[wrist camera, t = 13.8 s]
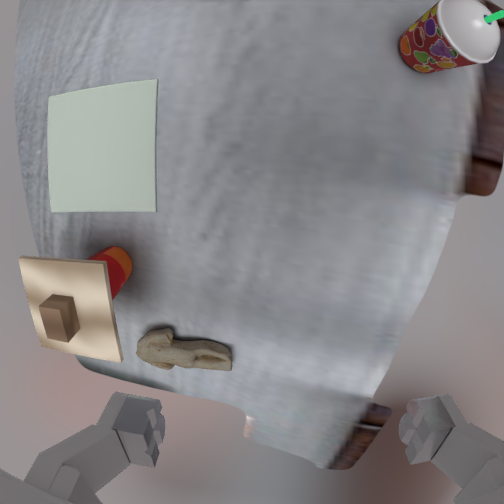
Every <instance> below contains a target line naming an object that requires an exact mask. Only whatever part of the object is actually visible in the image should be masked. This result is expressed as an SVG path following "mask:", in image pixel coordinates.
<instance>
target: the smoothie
mask: <svg viewBox="0 0 504 504" xmlns="http://www.w3.org/2000/svg"><path fill="white" fill-rule="evenodd" d="M502 17H504V11H503V10H501V11H499V12H496V13H494V14H492V13H491V12H490V11H489V10H488V9H487V8H486V7H485V6H484V5H482V4H481V3H480V2H478V1H476V0H440V1H439V2H438V3H436V4H435V5H434V6H433V7H432V8H431V9H430V10H428V11H427V12H426V13H425V14H424V15H423V16H422V17H421V18H419V19H418V20H417V21H416V22H415V23H414V24H413V25H412V26H411V27H409V28H408V29H407V30H406V31H405V32H404V33H403V34H402V36H401V37H400V43H399V45H400V53H401V55H402V58H403V59H404V61H405V62H406V63H407V64H408V65H409V66H410V67H411V68H413V69H415V70H417V71H419V72H422V73H432V72H436V71H441V70H446V69H451V68H456V67H461V66H467V65H472V64H479V63H488V62H489V61H491V60H492V59H493V58H494V56H495V54H496V52H497V49H498V47H499V44H500V30H499V26H498V23H497V21H496V20H497V19H500V18H502Z"/></svg>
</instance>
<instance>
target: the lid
mask: <svg viewBox="0 0 504 504" xmlns="http://www.w3.org/2000/svg"><path fill="white" fill-rule="evenodd" d="M19 263H20V268H21V273H22V278H23V282H24V286H25V291H26V295H27V299H28V303H29V306H30V310H31V313H32V317H33V320H34V324H35V327H36V330H37V333H38V337H39V340H40V343H41V346H42V347H46V348H50V349H55V350H59V351H63V352H68V353H73V354H77V355H82V356H87V357H92V358H97V359H103V360H108V361H114V362H120V363H121V362H122V361H123V359H124V358H123V353H122V349H121V344H120V340H119V335H118V330H117V324H116V319H115V314H114V308H113V302H112V296H111V290H110V283H109V276H108V269H107V261H95V260H79V259H64V258H49V257H35V256H34V257H33V256H21V257H19Z"/></svg>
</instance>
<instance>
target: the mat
mask: <svg viewBox="0 0 504 504" xmlns="http://www.w3.org/2000/svg"><path fill="white" fill-rule="evenodd" d="M157 92H158V79H151V80H142V81H133V82H126V83H119V84H112V85H105V86H99V87H94V88H88V89H83V90H78V91H73V92H68V93H64V94H59V95H55V96H51V97H49V105H48V176H49V192H50V204H51V212H156V211H157V202H156V117H157Z"/></svg>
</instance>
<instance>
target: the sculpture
mask: <svg viewBox="0 0 504 504" xmlns="http://www.w3.org/2000/svg"><path fill="white" fill-rule="evenodd" d="M173 336H174V332H173V331H172V330H171V329H169V328H166V329H163V330H155V331H150V332H148V333H146V334H145V335H144V336H143V337H141V339H140V340H139V341H138V343H137V352H136V354H137V356H138V357H139V358H140V359H142V360H143V361H145V362H148V363H150V364H151V365H153V366H156V367H159V368H162V369H166V370H169V369H171V368H172V367H173V366H174V365H178V366H180V367H183V368H203V369H212V370H224V371H231V370H232V356H231V352H230V351H229V350H228V349H227V347H225V346H223V345H221V344H219V343H217V342H212V341H207V340H198V341H178V340H174V339H172V338H173Z"/></svg>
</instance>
